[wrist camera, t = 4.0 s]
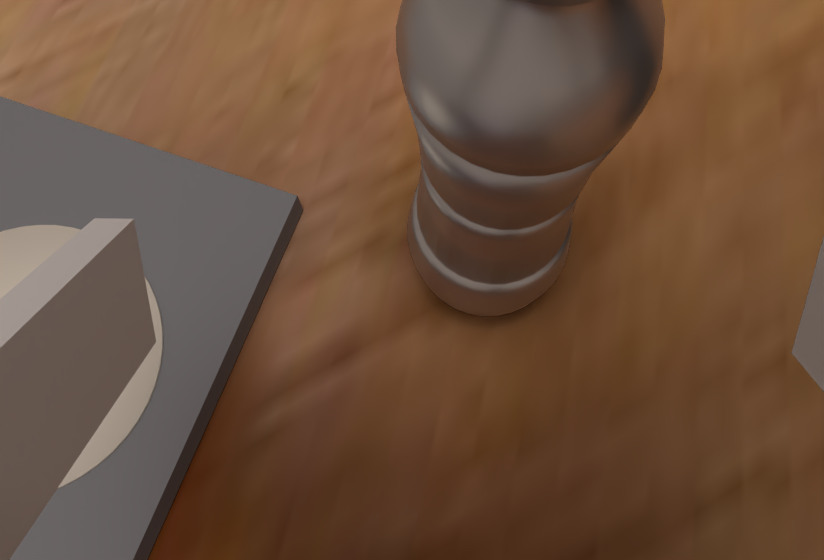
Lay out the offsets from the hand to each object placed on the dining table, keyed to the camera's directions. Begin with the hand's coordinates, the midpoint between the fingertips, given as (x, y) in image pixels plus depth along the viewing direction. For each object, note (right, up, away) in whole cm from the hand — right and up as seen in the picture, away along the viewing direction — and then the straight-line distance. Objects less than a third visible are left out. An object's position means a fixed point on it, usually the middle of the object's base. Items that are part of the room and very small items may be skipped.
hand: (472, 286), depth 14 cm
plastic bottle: (+2, +1, +17) cm, 17 cm away
